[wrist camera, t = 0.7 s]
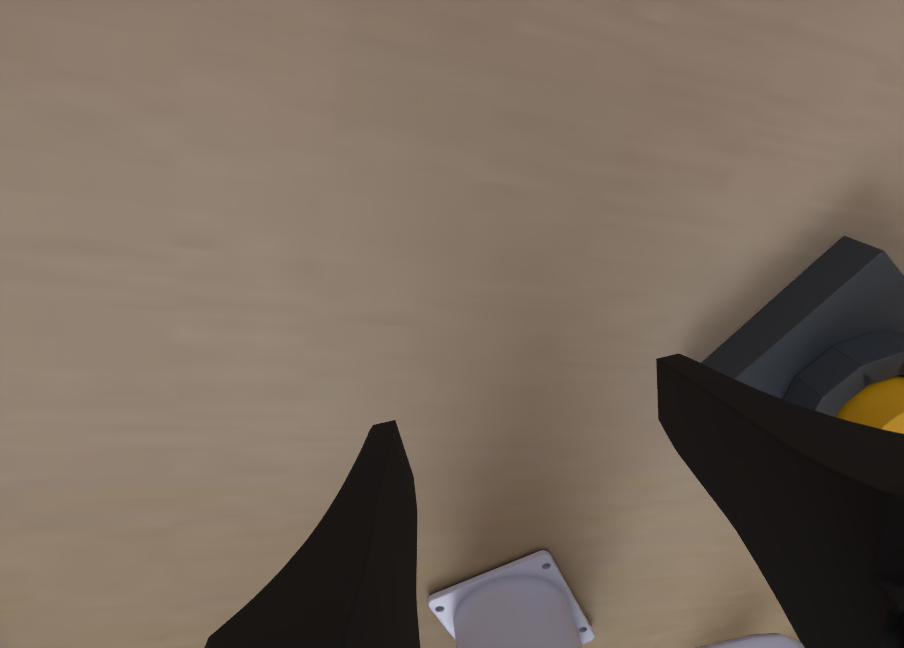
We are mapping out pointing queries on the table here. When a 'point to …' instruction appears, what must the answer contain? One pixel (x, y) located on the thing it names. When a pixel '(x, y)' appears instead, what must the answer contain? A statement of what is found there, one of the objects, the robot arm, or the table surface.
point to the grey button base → (824, 332)
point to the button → (878, 406)
